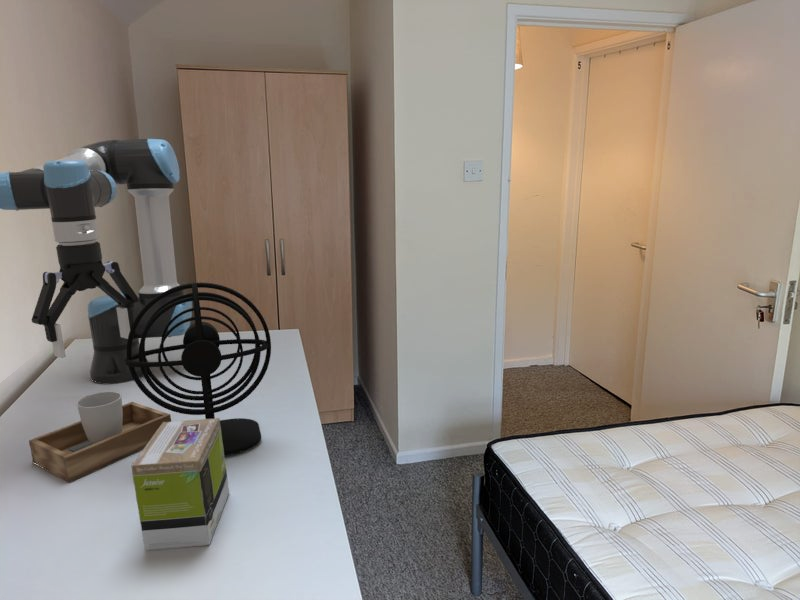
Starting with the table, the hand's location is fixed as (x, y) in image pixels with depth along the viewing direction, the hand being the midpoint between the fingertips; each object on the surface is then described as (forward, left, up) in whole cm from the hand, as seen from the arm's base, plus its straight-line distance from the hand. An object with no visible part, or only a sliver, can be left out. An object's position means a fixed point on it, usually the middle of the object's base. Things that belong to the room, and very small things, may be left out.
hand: (94, 346), depth 116 cm
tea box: (+38, -8, -22) cm, 44 cm away
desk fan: (+19, +11, -22) cm, 31 cm away
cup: (+1, -1, -21) cm, 21 cm away
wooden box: (+1, -1, -22) cm, 22 cm away
